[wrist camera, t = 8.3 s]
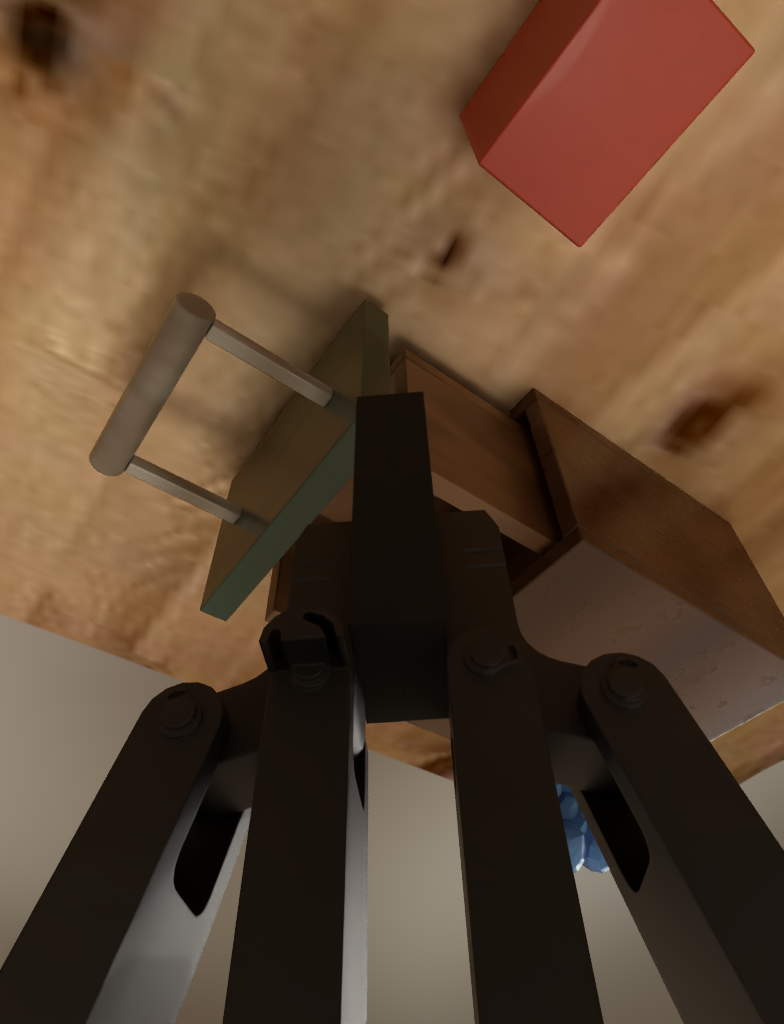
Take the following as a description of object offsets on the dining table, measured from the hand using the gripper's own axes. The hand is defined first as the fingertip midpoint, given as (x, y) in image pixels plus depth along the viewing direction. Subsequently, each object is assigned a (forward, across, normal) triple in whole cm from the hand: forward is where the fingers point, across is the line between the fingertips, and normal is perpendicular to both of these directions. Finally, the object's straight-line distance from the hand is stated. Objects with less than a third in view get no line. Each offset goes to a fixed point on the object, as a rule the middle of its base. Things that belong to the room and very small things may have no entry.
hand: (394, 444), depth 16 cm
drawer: (+13, -2, -9) cm, 16 cm away
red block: (+14, +6, +5) cm, 16 cm away
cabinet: (+14, +7, -17) cm, 24 cm away
